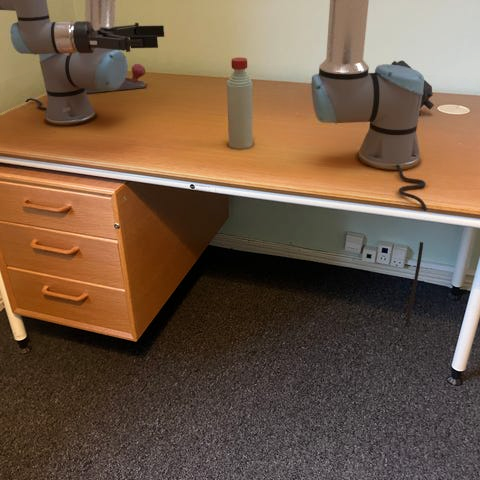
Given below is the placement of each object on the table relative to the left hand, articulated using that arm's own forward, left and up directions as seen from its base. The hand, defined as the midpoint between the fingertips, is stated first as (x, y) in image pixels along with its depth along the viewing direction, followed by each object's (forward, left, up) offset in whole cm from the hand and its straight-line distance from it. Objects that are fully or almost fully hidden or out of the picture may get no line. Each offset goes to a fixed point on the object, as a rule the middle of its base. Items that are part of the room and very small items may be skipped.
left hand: (160, 36), depth 134 cm
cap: (+18, +9, -6) cm, 21 cm away
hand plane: (-52, +39, -29) cm, 71 cm away
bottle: (+18, +9, -29) cm, 35 cm away
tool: (+53, +56, -29) cm, 82 cm away
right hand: (+23, +52, +5) cm, 57 cm away
